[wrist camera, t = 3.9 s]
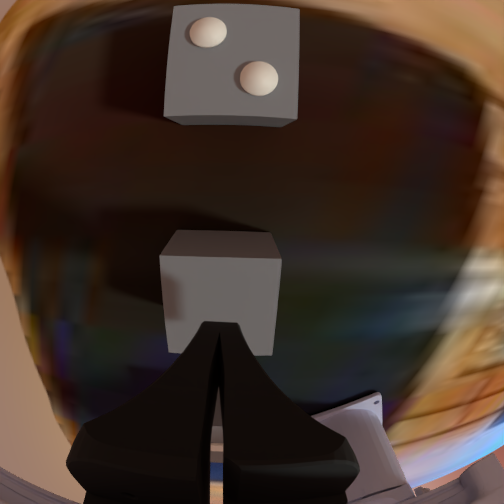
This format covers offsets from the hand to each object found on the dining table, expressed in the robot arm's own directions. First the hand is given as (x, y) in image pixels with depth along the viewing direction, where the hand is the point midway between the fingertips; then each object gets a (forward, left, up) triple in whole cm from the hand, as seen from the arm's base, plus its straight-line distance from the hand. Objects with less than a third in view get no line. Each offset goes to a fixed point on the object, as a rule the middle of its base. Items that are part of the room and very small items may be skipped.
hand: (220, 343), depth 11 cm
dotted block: (+10, -4, -6) cm, 12 cm away
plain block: (0, 0, -6) cm, 6 cm away
